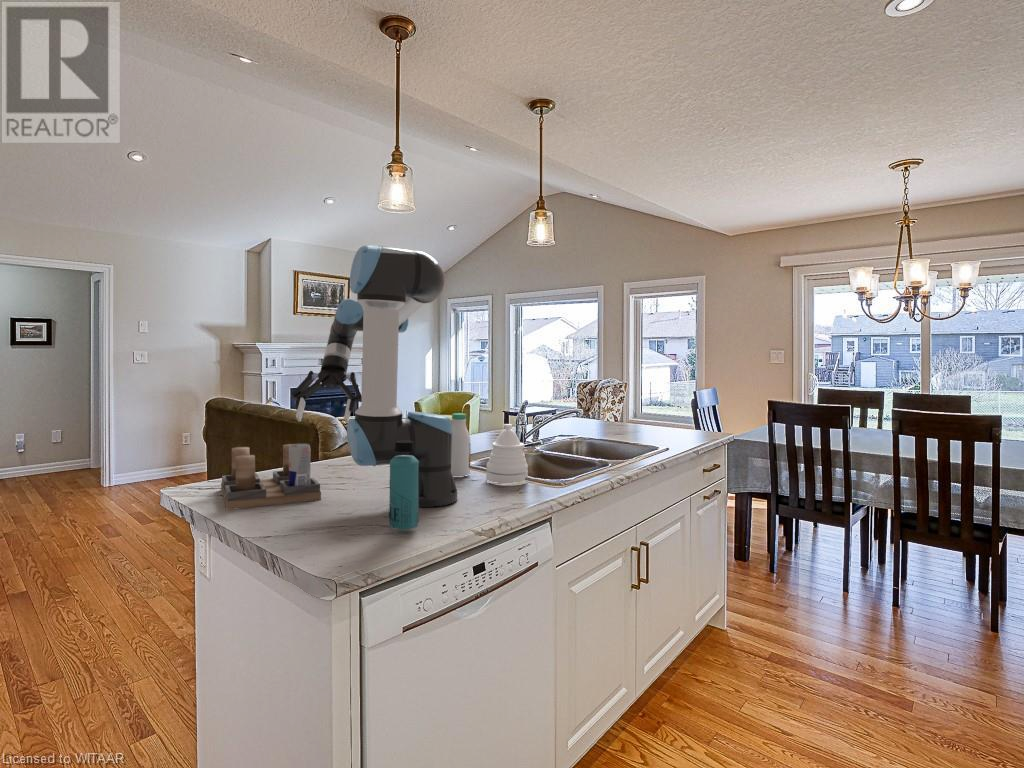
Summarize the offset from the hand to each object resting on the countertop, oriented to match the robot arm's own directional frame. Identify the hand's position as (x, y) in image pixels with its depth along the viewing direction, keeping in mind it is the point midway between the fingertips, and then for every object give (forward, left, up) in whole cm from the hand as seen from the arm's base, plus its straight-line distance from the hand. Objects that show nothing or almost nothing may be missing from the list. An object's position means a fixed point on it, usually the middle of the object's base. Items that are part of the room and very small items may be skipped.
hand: (322, 419), depth 158 cm
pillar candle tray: (-4, +14, -19) cm, 24 cm away
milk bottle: (-4, -42, -19) cm, 46 cm away
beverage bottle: (-50, -7, -19) cm, 54 cm away
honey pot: (-18, -52, -20) cm, 58 cm away
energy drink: (-10, +8, -17) cm, 22 cm away
